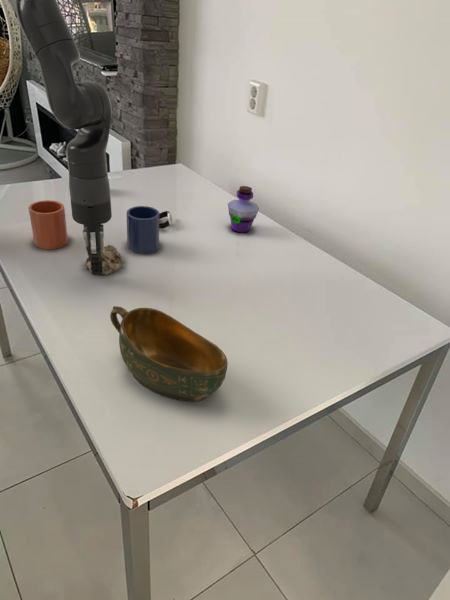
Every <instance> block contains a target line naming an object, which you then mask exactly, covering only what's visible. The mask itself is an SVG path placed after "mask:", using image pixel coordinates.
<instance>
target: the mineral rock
mask: <svg viewBox="0 0 450 600" xmlns="http://www.w3.org/2000/svg"><path fill="white" fill-rule="evenodd" d="M102 253H103V254H102V257H103V258H102V268H103V273H102V274H101V275H108V274H112V273H114V272H117V271H119V270H120V268H121V267H122V256H121V253H119V251H118V250H117V247H115V246H114V245H111V244H108V245H105V246H103V251H102ZM85 268H86V269H88V270H89V271H90V272H91V273H92V269H91V262H89V260H88V257H87V258H86V260H85Z"/></svg>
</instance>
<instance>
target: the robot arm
mask: <svg viewBox="0 0 450 600" xmlns="http://www.w3.org/2000/svg"><path fill="white" fill-rule="evenodd" d="M14 4H15V5H14V6H15V11H16V15H17V19H18V22H19V25H20V28H21V30H22V33H23V34H24V36H25V39H26V41H27V43H28V45H29V47H30V49H31V51H32V53H33V55H34V57H35V60H36V61H37V63H38V65H39V68H40V73H41V78H42V82H43V85H44V89H45V95H46V99H47V103H48V106H49V108H50V111H51V113H52V115H53V117H54V118H55V119H56V120H57V122H58V123H59V124H60V125H62V126H63V127H64V128H66V129H68V130H72V131H77V134H76V136H75V137H74V138H73V139H71V140H70V141H69V142H68V143H67V145H66V149H65V150H66V162H67V171H68V191H69V198H70V199H69V200H70V208H71V216H72V217H71V218H72V220H73V221H74V222H75V223H77V224H79V225H82V227H83V230H82V236H83V240H84V242H85V244H84V245H85V250H86V253H87V258H88V260H89V262H91V269H92V272H91V275H93V276H98V275H99V276H100V275H101V276H102V275H103V274H102V273H103V268H102V258H103V257H102V254H103V253H102V251H103V248H104V237H105V228H104V224H106V223H108V222H109V221H111V219H112V216H113V213H112V203H111V202H112V201H111V184H110V178H109V174H108V160H107V147H108V142H109V137H110V132H111V130H110V129H111V125H112V119H113V117H112V116H113V108H112V102H111V99H110V95H109V94H108V91H107V89H105V87H104V86H103V85H102V84H100V83H98V82H97V81H92V80H88V81H81V82H76V79H75V76H74V72H73V69H74V68H76V67H77V66H78V65H79V63H80V62H81V53H80V49H79V48H78V47H79V46H78V44H77V43H76V41H75V38H74V37H73V35H72V32H71V29H70V28H69V26H68V24H67V21H66V18H65V17H64V14H63V12H62V10H61V8H60V5H59V4H58V1H57V0H14ZM108 178H109V179H108Z"/></svg>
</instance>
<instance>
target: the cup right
mask: <svg viewBox="0 0 450 600" xmlns="http://www.w3.org/2000/svg"><path fill="white" fill-rule="evenodd" d="M125 214H126V241H127V249H128V250H129V251H131V252H132V253H135V254H141V255H146V254H152V253H155V252H156V251H158V250H159V248H160V228H159V223H160V220H159V214H160V211H159V210H158V209H157V208H155V207H153V206H147V205H138V206H132V207H129V209H127V210H126V213H125Z"/></svg>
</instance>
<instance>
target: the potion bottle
mask: <svg viewBox="0 0 450 600" xmlns="http://www.w3.org/2000/svg"><path fill="white" fill-rule="evenodd" d="M236 197H237V199H233V200H231V201H229V202H227V208H228V209H227V210H228V215H229V218H230V229H231V231H232V232H235V233H237V234H247V233H249V232H251V229H252V226H253V223H254V221H255V219H256V218H257V215H258V213H259V210H260V207H259V206H258V204H257V203H256V202H254V201H251V200H253V198H254V192H253V188H252V187H251V186H248V185H241V186H239V188H238V190H237V191H236Z"/></svg>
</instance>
